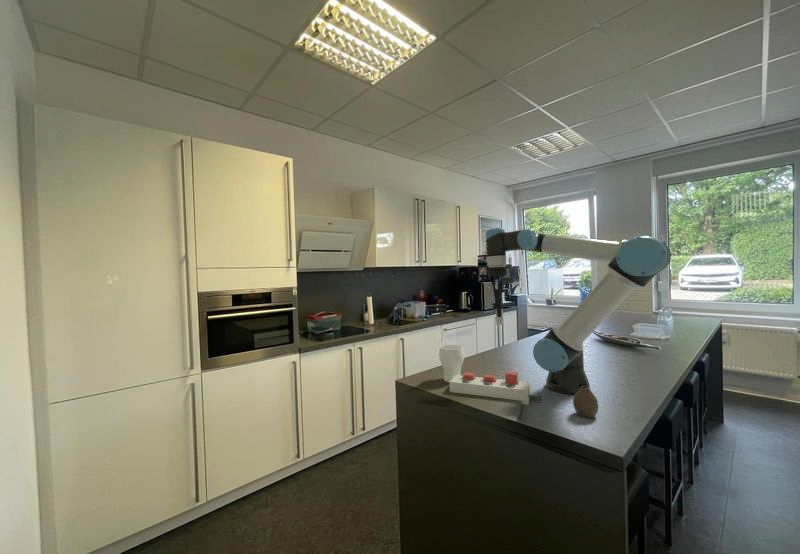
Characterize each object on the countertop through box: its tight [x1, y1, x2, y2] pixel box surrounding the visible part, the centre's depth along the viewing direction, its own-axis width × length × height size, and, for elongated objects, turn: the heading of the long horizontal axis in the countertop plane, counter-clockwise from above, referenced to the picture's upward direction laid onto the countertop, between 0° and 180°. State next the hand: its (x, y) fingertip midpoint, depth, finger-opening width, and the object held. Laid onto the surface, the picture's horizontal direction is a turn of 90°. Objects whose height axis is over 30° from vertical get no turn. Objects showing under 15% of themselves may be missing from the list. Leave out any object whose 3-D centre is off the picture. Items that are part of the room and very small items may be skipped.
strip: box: [448, 374, 542, 405], centre depth 120 cm, size 32×9×5 cm, turn 65°
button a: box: [504, 371, 519, 385], centre depth 119 cm, size 4×3×4 cm
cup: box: [438, 344, 465, 383], centre depth 137 cm, size 11×11×15 cm
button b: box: [483, 373, 497, 383], centre depth 123 cm, size 4×3×4 cm
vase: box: [572, 386, 599, 419], centre depth 101 cm, size 7×7×9 cm
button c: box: [462, 372, 476, 380], centre depth 126 cm, size 4×3×4 cm
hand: (499, 324), depth 130 cm, fingers closed
